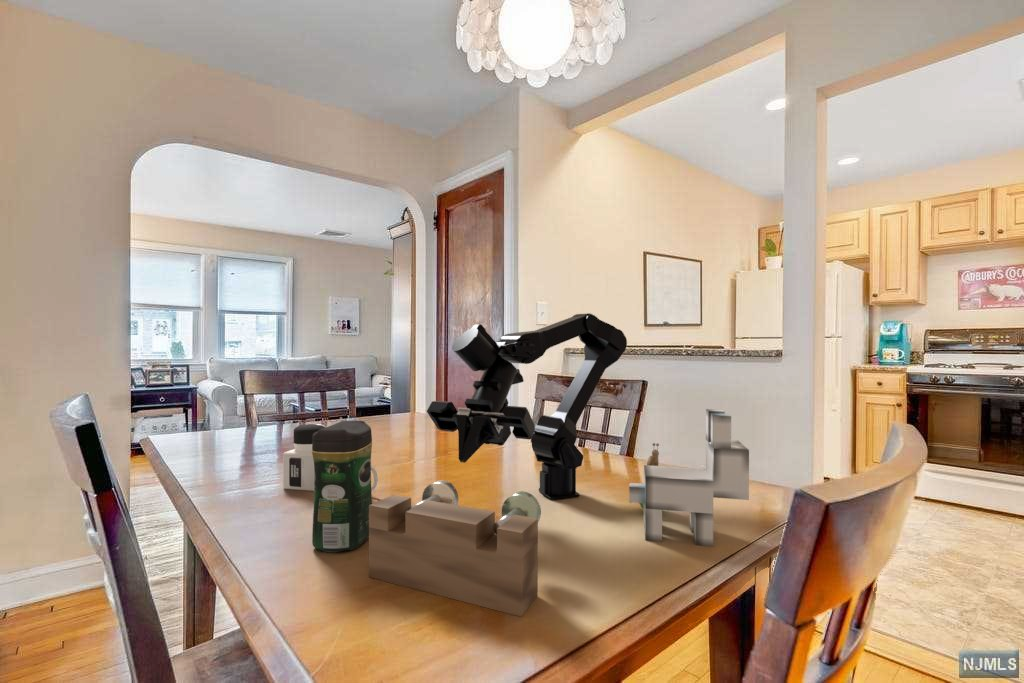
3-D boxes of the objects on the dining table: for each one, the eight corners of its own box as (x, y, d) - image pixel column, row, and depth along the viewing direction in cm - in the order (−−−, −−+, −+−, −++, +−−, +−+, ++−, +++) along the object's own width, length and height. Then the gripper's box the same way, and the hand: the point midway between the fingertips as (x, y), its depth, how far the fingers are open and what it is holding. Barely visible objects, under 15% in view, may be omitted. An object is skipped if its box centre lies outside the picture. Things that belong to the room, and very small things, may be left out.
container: (315, 491, 102) (315, 428, 102) (282, 489, 103) (282, 427, 103) (335, 481, 109) (336, 422, 109) (304, 479, 111) (305, 421, 111)
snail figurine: (670, 508, 92) (670, 444, 92) (665, 519, 86) (666, 451, 86) (641, 503, 95) (641, 441, 95) (634, 514, 89) (634, 448, 89)
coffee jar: (332, 528, 82) (332, 417, 82) (378, 530, 81) (379, 417, 81) (302, 553, 72) (302, 427, 72) (354, 555, 71) (355, 428, 71)
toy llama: (628, 521, 85) (629, 406, 85) (737, 531, 81) (738, 410, 81) (629, 538, 78) (629, 412, 78) (748, 549, 74) (749, 416, 74)
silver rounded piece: (429, 511, 74) (430, 478, 74) (458, 516, 72) (458, 482, 72) (397, 528, 67) (398, 492, 67) (428, 534, 65) (428, 497, 65)
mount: (393, 561, 69) (393, 494, 69) (537, 595, 60) (537, 518, 60) (368, 577, 65) (369, 505, 65) (521, 616, 56) (521, 532, 56)
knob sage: (507, 524, 69) (507, 489, 69) (540, 530, 67) (541, 494, 67) (481, 545, 62) (481, 505, 62) (517, 552, 60) (518, 511, 60)
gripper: (552, 418, 90) (528, 494, 80) (465, 411, 98) (433, 480, 88) (536, 378, 83) (508, 456, 73) (443, 374, 91) (406, 444, 81)
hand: (461, 461), depth 79 cm, fingers closed
